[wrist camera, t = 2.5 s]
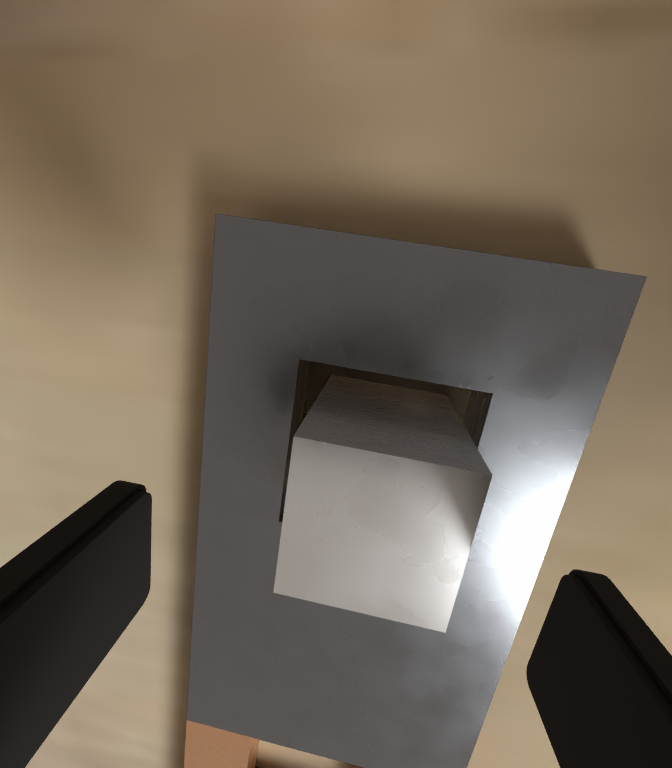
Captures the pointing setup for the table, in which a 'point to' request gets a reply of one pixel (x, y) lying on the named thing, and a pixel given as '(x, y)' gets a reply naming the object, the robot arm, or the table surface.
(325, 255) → the grey copper flat plate
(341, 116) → the table surface
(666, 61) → the table surface
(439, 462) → the grey rectangular block
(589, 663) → the robot arm
